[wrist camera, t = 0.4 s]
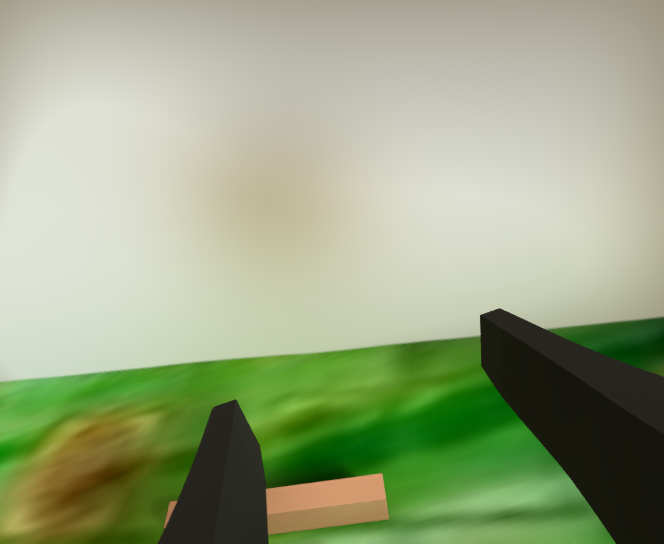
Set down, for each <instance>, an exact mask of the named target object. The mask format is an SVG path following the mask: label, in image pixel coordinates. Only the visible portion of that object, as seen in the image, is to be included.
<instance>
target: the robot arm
mask: <svg viewBox="0 0 664 544" xmlns="http://www.w3.org/2000/svg"><path fill="white" fill-rule="evenodd" d="M480 329H481V366H482V368H483V369H484V371H485V372H486V374H487V375H488V377H489V378H490V380H491V382H492V383H493V385H494V386H495V387H496V389H497V390H498V392H499V393H500V395H501V396H502V397H503V399H504V400H505V401H506V402H507V404H508V405H509V406H510V407H511V408H512V409H513V411H514V412H515V413H516V414H517V415H518V417H519V418H520V419H521V420H522V421H523V422H524V424H525V425H526V426H527V427H528V428H529V429H530V431H531V432H532V433H533V434H534V435H535V436H536V438H537V439H538V440H539V441H540V442H541V443H542V445H543V446H544V447H545V448H546V449H547V450H548V452H549V453H550V454H551V455H552V456H553V457H554V459H555V460H556V461H557V462H558V463H559V465H560V466H561V467H562V468H563V470H564V471H565V472H566V473H567V475H568V476H569V477H570V478H571V480H572V481H573V483H574V484H575V485H576V487H577V488H578V490H579V491H580V492H581V494H582V495H583V497H584V498H585V499H586V501H587V502H588V504H589V505H590V506H591V508H592V509H593V511H594V512H595V513H596V515H597V516H598V518H599V519H600V521H601V522H602V524H603V525H604V526H605V528H606V529H607V531H608V532H609V534H610V535H611V537H612V538H613V540H614V541H615V543H616V544H664V377H663V376H660V375H657V374H654V373H651V372H648V371H645V370H642V369H639V368H637V367H634V366H631V365H628V364H626V363H623V362H621V361H618V360H616V359H613V358H610V357H608V356H605V355H603V354H600V353H598V352H595V351H593V350H591V349H588V348H586V347H583V346H581V345H579V344H576V343H574V342H572V341H570V340H567V339H565V338H563V337H561V336H558V335H556V334H554V333H552V332H550V331H548V330H545V329H543V328H541V327H539V326H537V325H535V324H532V323H530V322H528V321H526V320H524V319H522V318H520V317H517V316H515V315H513V314H511V313H509V312H507V311H504V310H502V309H500V308H499V309H496V310H494V311H490V312H488V313H485V314H482V315H480ZM158 544H268V521H267V500H266V482H265V475H264V469H263V462H262V456H261V450H260V445H259V443H258V441H257V439H256V437H255V435H254V433H253V431H252V430H251V428H250V426H249V424H248V422H247V420H246V418H245V416H244V414H243V412H242V410H241V408H240V406H239V404H238V402H237V401H236V399H235V400H233V401H230V402H227V403H224V404H221V405H218V406H215V407H214V408H213V409H212V411H211V414H210V417H209V420H208V423H207V425H206V428H205V431H204V434H203V437H202V440H201V443H200V445H199V448H198V451H197V453H196V456H195V459H194V461H193V464H192V466H191V469H190V471H189V474H188V476H187V479H186V481H185V484H184V486H183V489H182V491H181V494H180V496H179V498H178V501H177V503H176V505H175V507H174V509H173V512H172V514H171V516H170V518H169V521H168V523H167V525H166V527H165V529H164V532H163V534H162V536H161V538H160V540H159V542H158Z"/></svg>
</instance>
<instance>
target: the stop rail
mask: <svg viewBox="0 0 664 544" xmlns="http://www.w3.org/2000/svg"><path fill="white" fill-rule="evenodd" d="M266 500H267V521H268V535H269V534H277V533H285V532H293V531H300V530H308V529H316V528H324V527H332V526H340V525H347V524H355V523H363V522H371V521H379V520H387V519H389V515H388V508H387V501H386V495H385V489H384V483H383V476H382V474H374V475H367V476H359V477H352V478H344V479H337V480H329V481H322V482H314V483H307V484H299V485H292V486H284V487H277V488H269V489H266ZM176 503H177V501H171V502H170V503H169V507H168V512H167V516H166V520H165V524H164V529H165V527H166V525H167V523H168V521H169V518H170V516H171V514H172V512H173V509H174V507H175V505H176Z"/></svg>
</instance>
